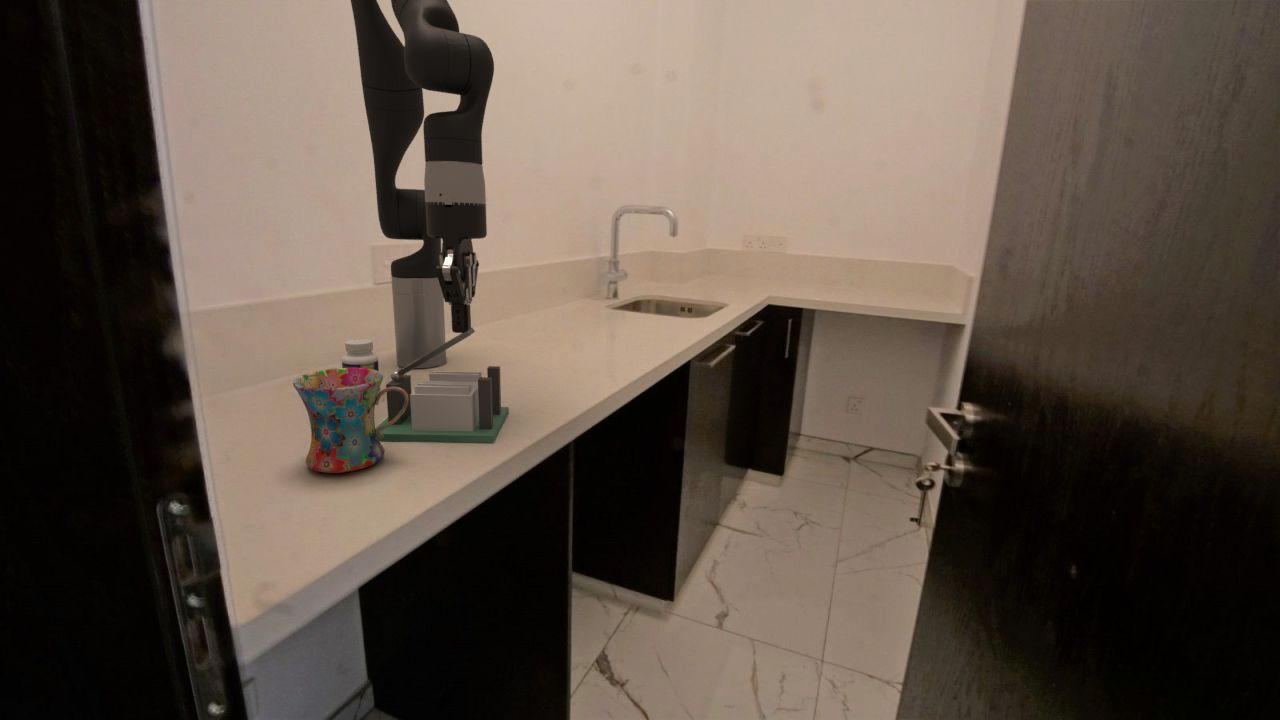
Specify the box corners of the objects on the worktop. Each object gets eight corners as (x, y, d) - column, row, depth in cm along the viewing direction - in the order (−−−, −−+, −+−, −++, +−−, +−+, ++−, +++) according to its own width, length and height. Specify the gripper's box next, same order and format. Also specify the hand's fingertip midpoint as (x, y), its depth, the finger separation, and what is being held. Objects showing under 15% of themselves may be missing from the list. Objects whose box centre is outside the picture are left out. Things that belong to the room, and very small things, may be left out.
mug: (290, 482, 65) (280, 390, 62) (315, 450, 73) (307, 368, 71) (406, 475, 67) (400, 387, 65) (417, 445, 76) (412, 366, 74)
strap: (400, 376, 82) (396, 370, 82) (475, 332, 81) (471, 326, 81) (393, 381, 80) (389, 375, 79) (470, 336, 79) (466, 330, 78)
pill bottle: (366, 400, 93) (362, 346, 90) (337, 397, 94) (332, 343, 91) (387, 391, 98) (383, 339, 96) (359, 388, 99) (355, 337, 97)
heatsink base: (401, 411, 88) (398, 360, 86) (508, 413, 89) (507, 362, 87) (369, 440, 77) (365, 382, 75) (493, 443, 78) (491, 385, 76)
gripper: (441, 201, 82) (447, 323, 86) (409, 197, 69) (418, 341, 73) (495, 202, 82) (498, 324, 86) (473, 199, 70) (478, 342, 74)
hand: (461, 331), depth 80 cm, fingers closed
